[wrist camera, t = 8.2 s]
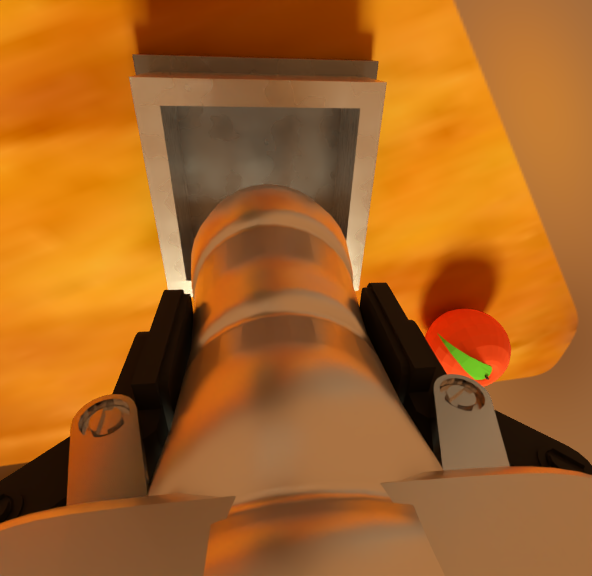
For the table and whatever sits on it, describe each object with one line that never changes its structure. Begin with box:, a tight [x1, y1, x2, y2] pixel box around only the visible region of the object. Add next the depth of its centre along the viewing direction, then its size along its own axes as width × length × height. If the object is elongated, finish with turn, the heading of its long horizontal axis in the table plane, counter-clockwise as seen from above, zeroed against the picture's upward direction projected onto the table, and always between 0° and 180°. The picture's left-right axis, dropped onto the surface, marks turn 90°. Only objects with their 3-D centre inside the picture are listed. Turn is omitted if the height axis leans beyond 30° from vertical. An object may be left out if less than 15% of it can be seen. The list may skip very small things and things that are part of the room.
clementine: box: [425, 309, 511, 387], centre depth 33 cm, size 8×7×7 cm
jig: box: [129, 54, 387, 297], centre depth 24 cm, size 14×14×6 cm
